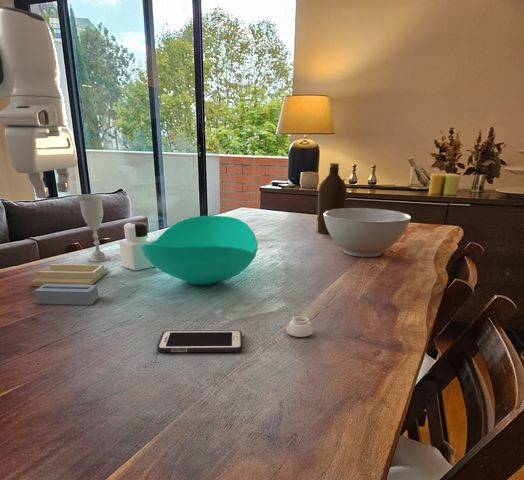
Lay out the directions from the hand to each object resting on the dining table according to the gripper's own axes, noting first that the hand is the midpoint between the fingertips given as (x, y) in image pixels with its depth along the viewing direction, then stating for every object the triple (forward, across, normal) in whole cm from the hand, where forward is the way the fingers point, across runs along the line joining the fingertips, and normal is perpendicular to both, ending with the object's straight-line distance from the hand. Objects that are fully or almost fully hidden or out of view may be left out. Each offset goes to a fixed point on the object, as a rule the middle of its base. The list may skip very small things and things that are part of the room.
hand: (54, 194), depth 90 cm
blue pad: (+23, -3, -2) cm, 23 cm away
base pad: (+23, -20, -8) cm, 32 cm away
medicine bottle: (+23, -33, +6) cm, 41 cm away
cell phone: (+23, +19, +31) cm, 43 cm away
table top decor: (+23, -20, +26) cm, 40 cm away
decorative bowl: (+23, -55, +73) cm, 94 cm away
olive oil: (+23, -89, +66) cm, 113 cm away
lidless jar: (+23, +13, +49) cm, 56 cm away
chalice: (+23, -40, -8) cm, 47 cm away
